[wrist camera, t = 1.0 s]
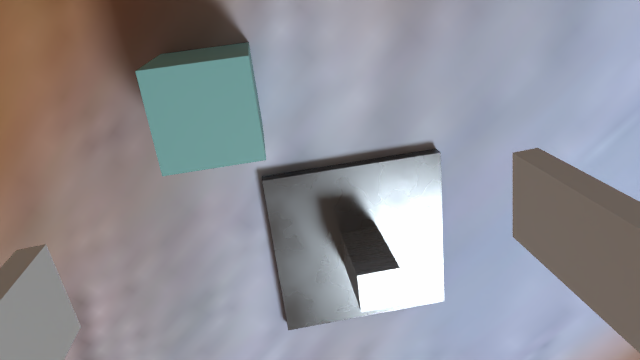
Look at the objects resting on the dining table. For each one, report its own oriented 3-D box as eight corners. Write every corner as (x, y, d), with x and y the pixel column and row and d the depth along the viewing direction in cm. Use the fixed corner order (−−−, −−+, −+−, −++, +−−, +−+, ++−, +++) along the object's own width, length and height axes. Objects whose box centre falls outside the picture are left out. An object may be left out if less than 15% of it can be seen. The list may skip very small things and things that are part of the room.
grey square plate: (261, 176, 32) (264, 217, 26) (436, 148, 33) (476, 182, 27) (287, 323, 36) (294, 386, 30) (440, 295, 37) (475, 350, 32)
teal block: (160, 54, 28) (135, 71, 22) (248, 42, 29) (248, 55, 22) (180, 138, 30) (162, 176, 24) (262, 126, 31) (266, 160, 24)
